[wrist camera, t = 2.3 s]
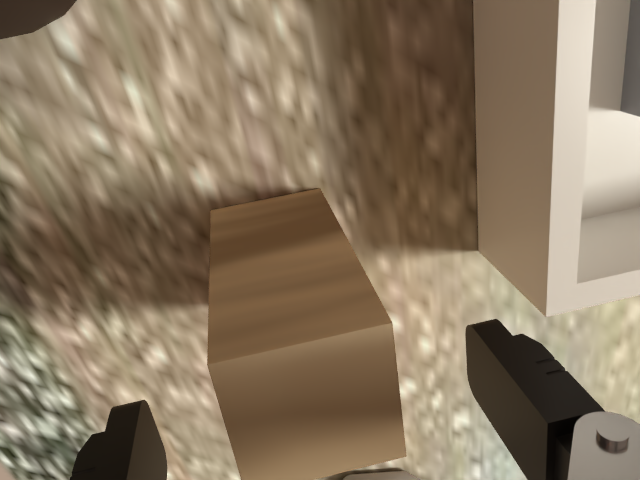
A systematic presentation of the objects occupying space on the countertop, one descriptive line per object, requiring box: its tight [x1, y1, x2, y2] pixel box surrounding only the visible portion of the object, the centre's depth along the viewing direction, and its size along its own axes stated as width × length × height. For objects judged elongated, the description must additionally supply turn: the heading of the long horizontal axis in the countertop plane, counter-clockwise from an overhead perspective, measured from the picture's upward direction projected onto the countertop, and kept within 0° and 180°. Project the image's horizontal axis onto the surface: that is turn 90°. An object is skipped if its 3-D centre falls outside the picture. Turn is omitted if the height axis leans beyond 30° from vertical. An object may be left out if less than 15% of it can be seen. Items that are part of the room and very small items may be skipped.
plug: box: [207, 188, 406, 480], centre depth 16 cm, size 4×4×9 cm
